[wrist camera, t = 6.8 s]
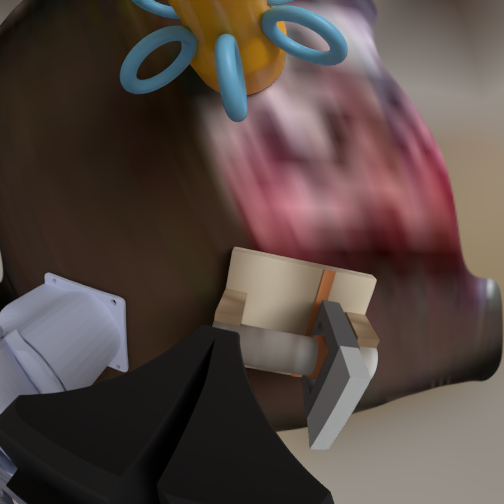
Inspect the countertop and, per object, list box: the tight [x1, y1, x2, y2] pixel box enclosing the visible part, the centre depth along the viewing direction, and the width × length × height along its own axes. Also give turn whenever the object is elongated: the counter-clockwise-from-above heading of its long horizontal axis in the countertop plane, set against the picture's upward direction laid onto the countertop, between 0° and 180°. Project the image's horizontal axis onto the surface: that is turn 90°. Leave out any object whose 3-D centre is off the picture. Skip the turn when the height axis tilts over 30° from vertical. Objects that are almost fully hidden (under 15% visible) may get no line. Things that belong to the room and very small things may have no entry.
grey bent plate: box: [302, 300, 371, 450], centre depth 14 cm, size 1×5×8 cm, turn 169°
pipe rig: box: [212, 247, 379, 379], centre depth 17 cm, size 10×9×6 cm
